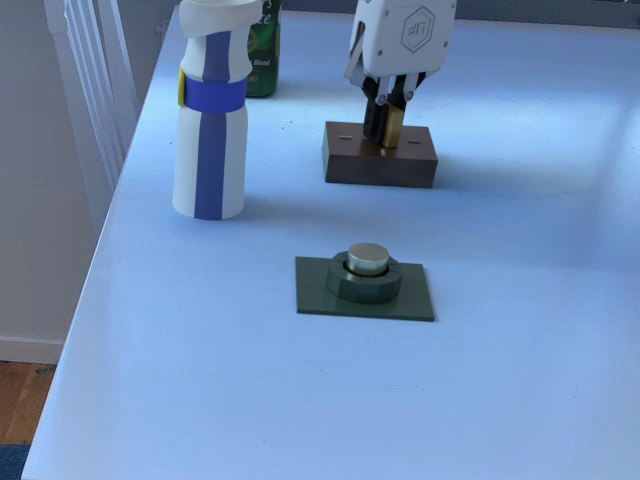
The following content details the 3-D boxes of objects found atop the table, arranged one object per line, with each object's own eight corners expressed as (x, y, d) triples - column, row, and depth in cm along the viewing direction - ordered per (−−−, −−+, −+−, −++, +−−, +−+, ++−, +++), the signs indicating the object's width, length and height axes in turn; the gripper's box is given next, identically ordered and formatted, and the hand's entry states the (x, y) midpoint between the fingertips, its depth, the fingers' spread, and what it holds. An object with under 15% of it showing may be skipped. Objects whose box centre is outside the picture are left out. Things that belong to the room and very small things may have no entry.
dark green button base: (417, 285, 90) (427, 245, 87) (428, 340, 84) (440, 298, 81) (292, 278, 91) (297, 237, 88) (294, 331, 84) (300, 289, 81)
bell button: (383, 262, 86) (387, 243, 84) (386, 281, 83) (390, 262, 82) (344, 260, 86) (347, 241, 84) (346, 279, 83) (349, 259, 82)
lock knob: (397, 146, 105) (405, 109, 103) (387, 148, 105) (394, 111, 102) (373, 130, 108) (379, 94, 106) (363, 132, 108) (369, 95, 105)
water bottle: (166, 221, 98) (175, -73, 80) (170, 187, 104) (178, -95, 85) (245, 224, 98) (272, -70, 80) (244, 190, 104) (269, -92, 85)
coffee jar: (202, 95, 123) (211, -80, 110) (209, 75, 129) (219, -94, 115) (275, 101, 123) (294, -74, 109) (280, 81, 128) (298, -89, 114)
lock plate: (422, 153, 112) (428, 125, 110) (431, 188, 105) (438, 158, 103) (321, 147, 113) (325, 119, 110) (324, 182, 106) (329, 152, 104)
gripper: (371, -45, 88) (339, 160, 102) (504, -58, 93) (456, 140, 107) (330, -64, 93) (304, 135, 107) (458, -75, 98) (418, 117, 111)
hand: (380, 136), depth 107 cm, fingers closed
